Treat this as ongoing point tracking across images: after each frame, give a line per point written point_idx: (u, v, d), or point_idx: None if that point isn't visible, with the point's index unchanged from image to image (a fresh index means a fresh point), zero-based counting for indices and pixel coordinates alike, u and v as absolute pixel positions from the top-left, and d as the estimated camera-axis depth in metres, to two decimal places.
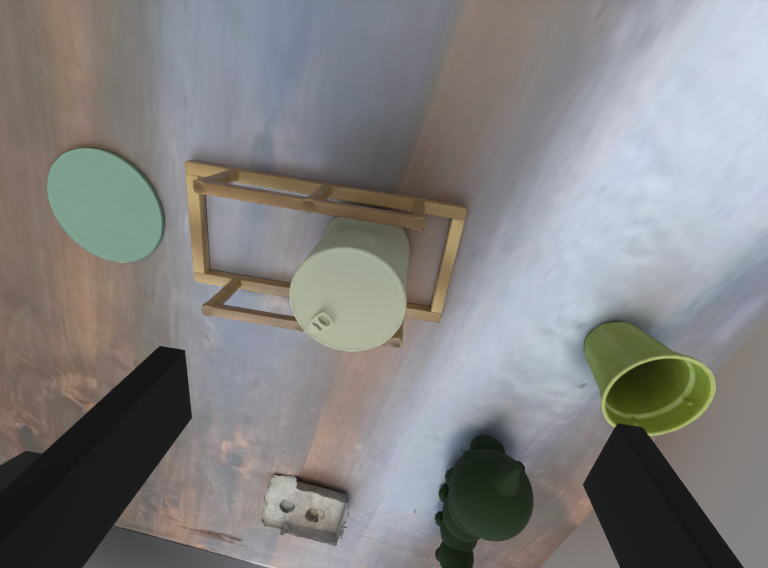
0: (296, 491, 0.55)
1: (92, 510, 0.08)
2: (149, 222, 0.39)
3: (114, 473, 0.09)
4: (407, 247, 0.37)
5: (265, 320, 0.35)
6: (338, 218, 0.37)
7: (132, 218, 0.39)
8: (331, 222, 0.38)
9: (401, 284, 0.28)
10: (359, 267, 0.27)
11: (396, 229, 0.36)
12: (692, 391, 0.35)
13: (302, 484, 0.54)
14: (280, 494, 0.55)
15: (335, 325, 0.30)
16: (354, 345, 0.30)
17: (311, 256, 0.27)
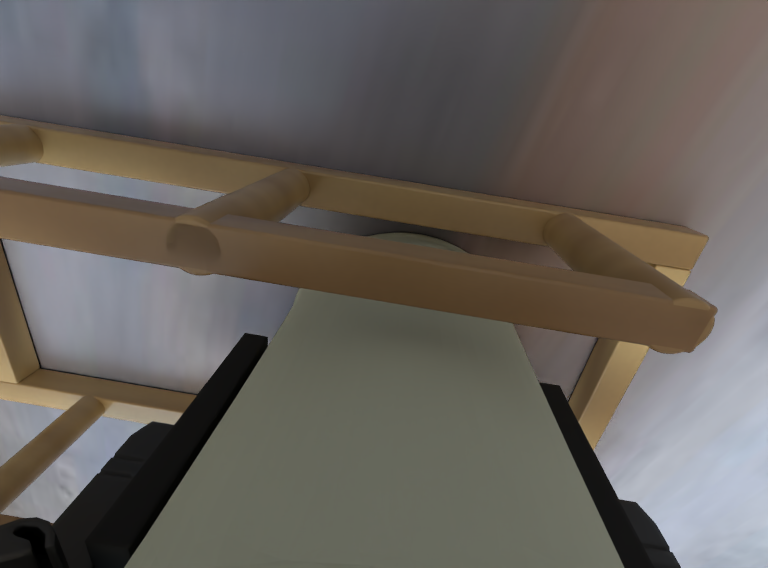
0: None
1: None
2: None
3: None
4: None
5: None
6: None
7: None
8: None
9: None
10: None
11: None
12: None
13: None
14: None
15: None
16: None
17: None
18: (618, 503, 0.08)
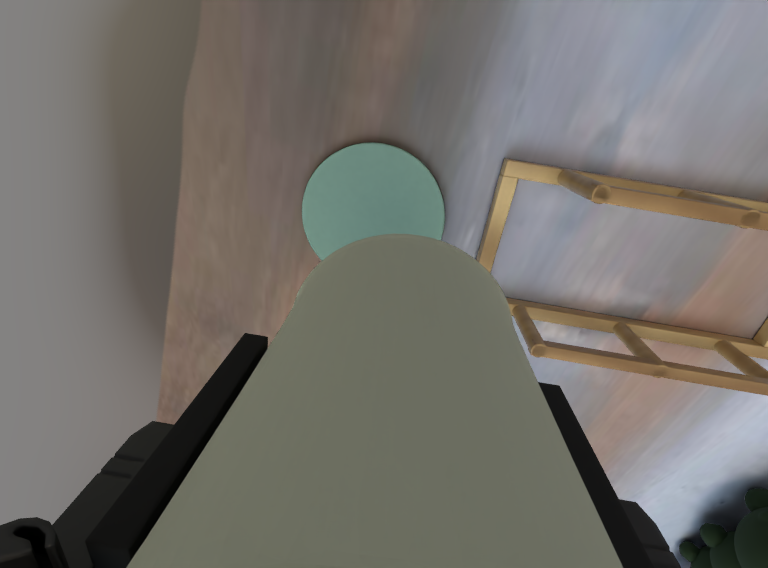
0: None
1: None
2: None
3: None
4: None
5: (614, 363, 0.27)
6: (330, 262, 0.13)
7: (405, 231, 0.31)
8: (313, 270, 0.14)
9: None
10: None
11: (495, 297, 0.13)
12: None
13: None
14: None
15: None
16: None
17: None
18: (618, 503, 0.08)
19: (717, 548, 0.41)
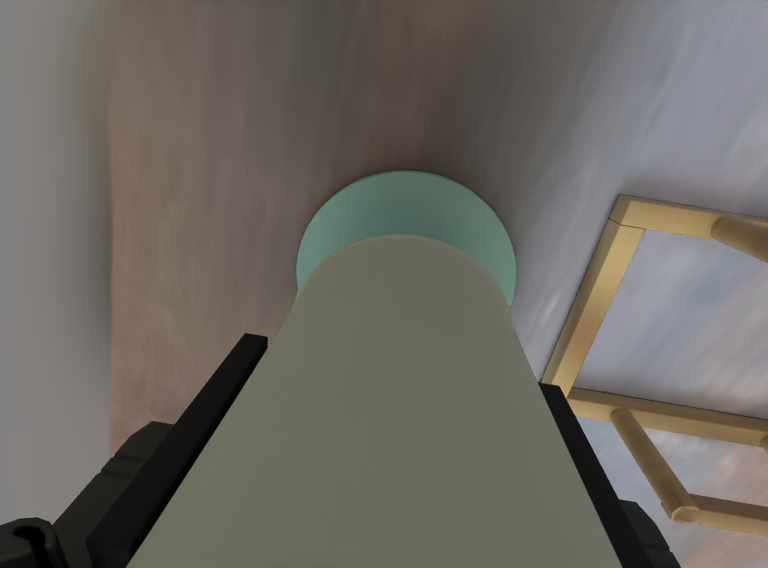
0: None
1: None
2: None
3: None
4: None
5: None
6: (330, 263, 0.13)
7: None
8: (312, 270, 0.14)
9: None
10: None
11: (495, 297, 0.13)
12: None
13: None
14: None
15: None
16: None
17: None
18: (618, 503, 0.08)
19: None
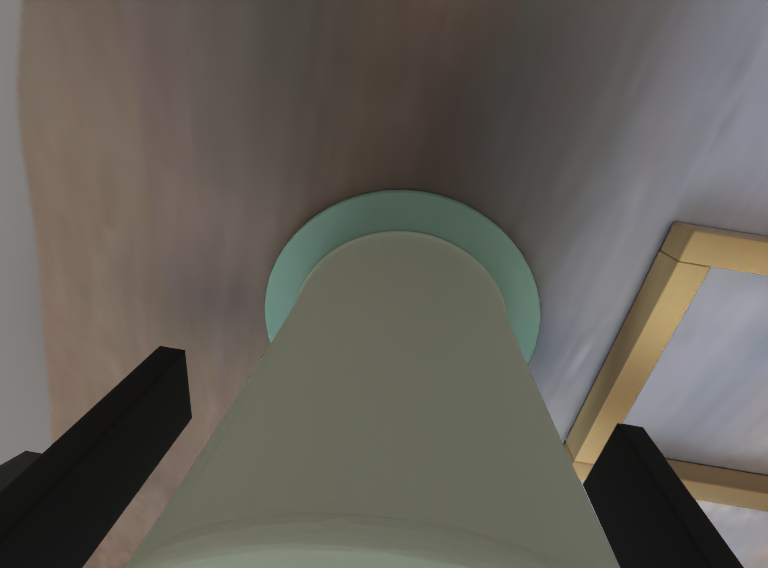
0: None
1: (91, 509, 0.08)
2: None
3: (114, 473, 0.09)
4: None
5: None
6: (332, 258, 0.14)
7: None
8: (315, 266, 0.15)
9: None
10: None
11: (490, 291, 0.13)
12: None
13: None
14: None
15: None
16: None
17: (161, 563, 0.05)
18: None
19: None
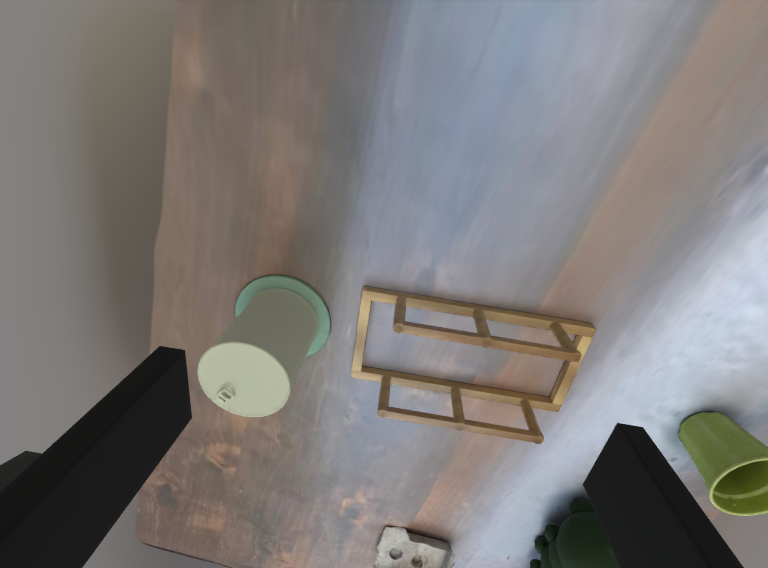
0: (404, 541, 0.63)
1: (91, 509, 0.08)
2: (318, 331, 0.46)
3: (114, 473, 0.09)
4: (313, 320, 0.44)
5: (430, 421, 0.42)
6: (255, 297, 0.44)
7: None
8: (251, 299, 0.45)
9: (283, 369, 0.35)
10: (249, 356, 0.35)
11: (301, 308, 0.43)
12: None
13: (411, 535, 0.62)
14: (390, 543, 0.63)
15: (237, 398, 0.37)
16: (254, 412, 0.37)
17: (211, 348, 0.34)
18: None
19: (551, 542, 0.56)
